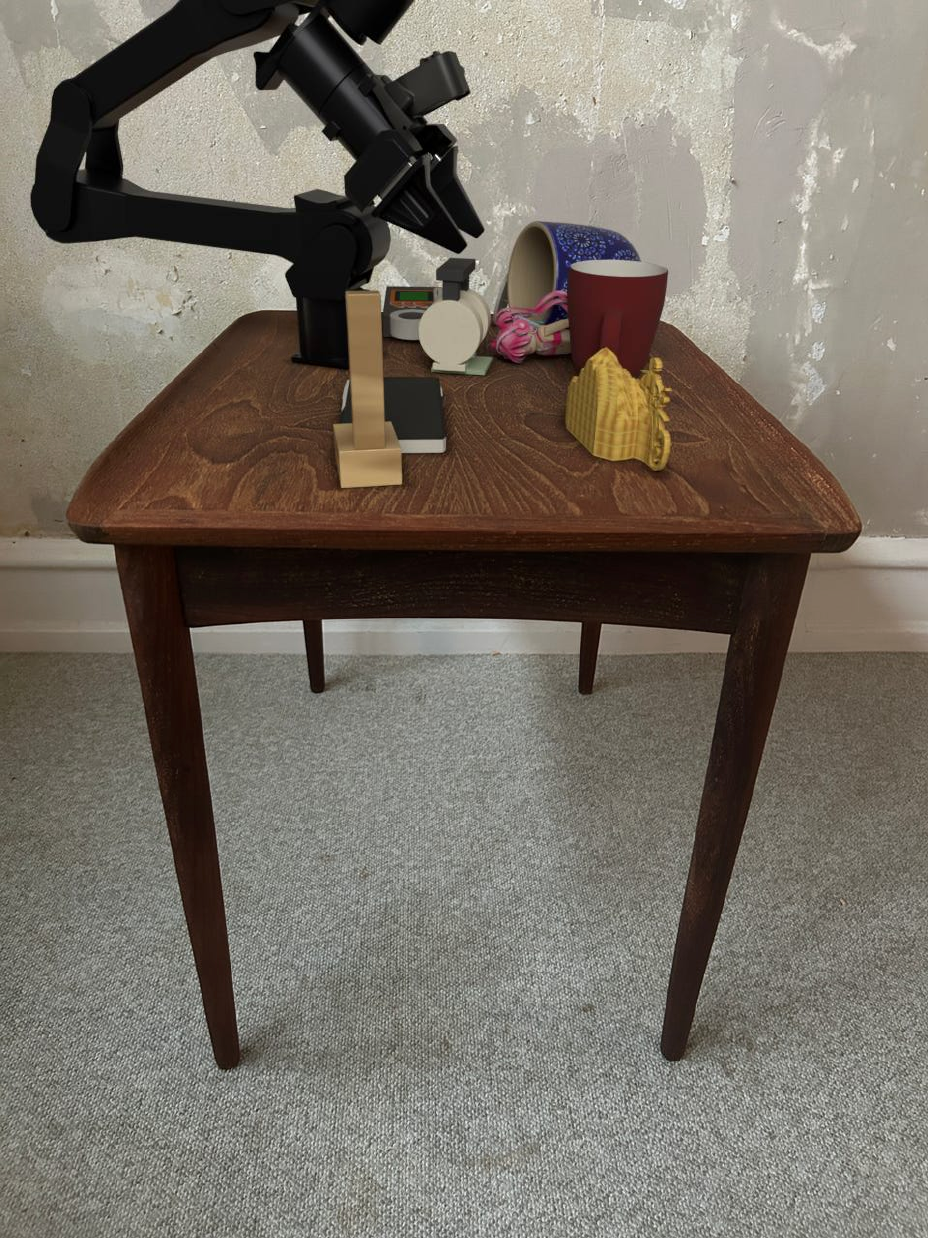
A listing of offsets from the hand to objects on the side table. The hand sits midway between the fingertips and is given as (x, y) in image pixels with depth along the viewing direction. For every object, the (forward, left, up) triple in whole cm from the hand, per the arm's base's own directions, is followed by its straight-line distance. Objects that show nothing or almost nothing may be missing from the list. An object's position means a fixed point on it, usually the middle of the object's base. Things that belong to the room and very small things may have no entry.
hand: (472, 241), depth 76 cm
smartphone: (0, -17, -11) cm, 20 cm away
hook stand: (+3, -27, -11) cm, 29 cm away
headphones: (-1, 0, -10) cm, 11 cm away
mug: (+14, -3, -11) cm, 18 cm away
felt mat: (-1, 0, -11) cm, 11 cm away
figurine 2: (+17, -16, -11) cm, 26 cm away
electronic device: (-11, +13, -11) cm, 20 cm away
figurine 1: (-3, +17, -8) cm, 19 cm away
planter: (+10, +19, -6) cm, 22 cm away
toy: (+7, +7, -11) cm, 15 cm away
